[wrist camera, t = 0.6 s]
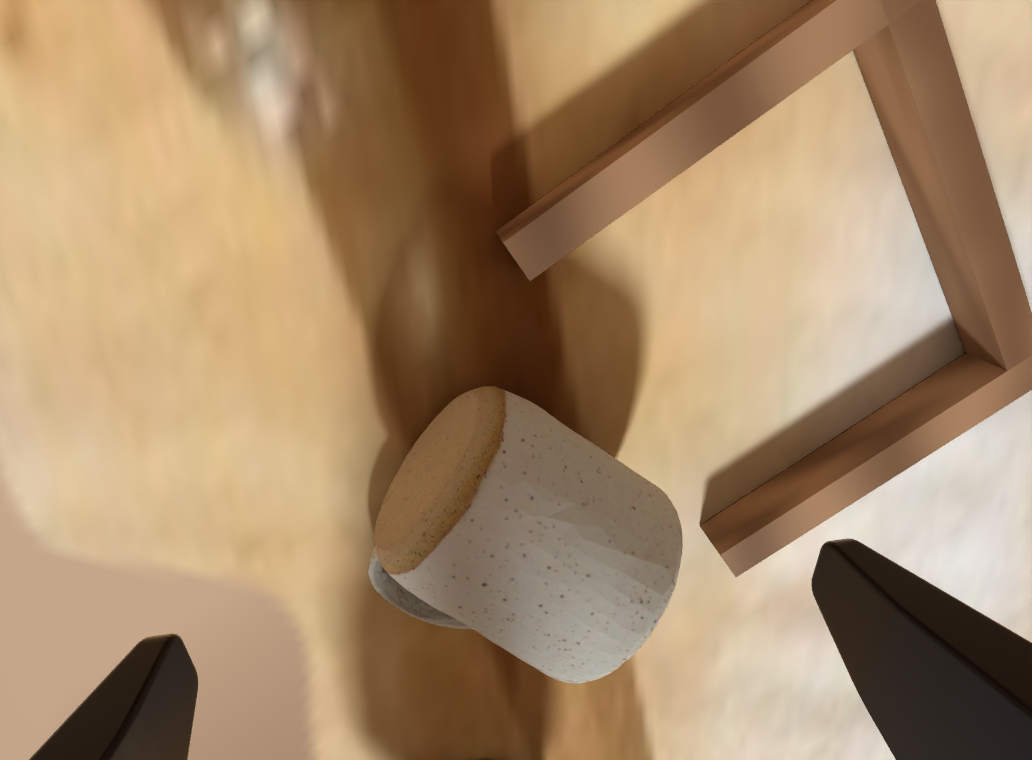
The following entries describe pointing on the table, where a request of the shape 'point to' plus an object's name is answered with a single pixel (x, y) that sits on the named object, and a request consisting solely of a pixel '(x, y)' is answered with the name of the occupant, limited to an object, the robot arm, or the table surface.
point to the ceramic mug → (526, 538)
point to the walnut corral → (934, 200)
